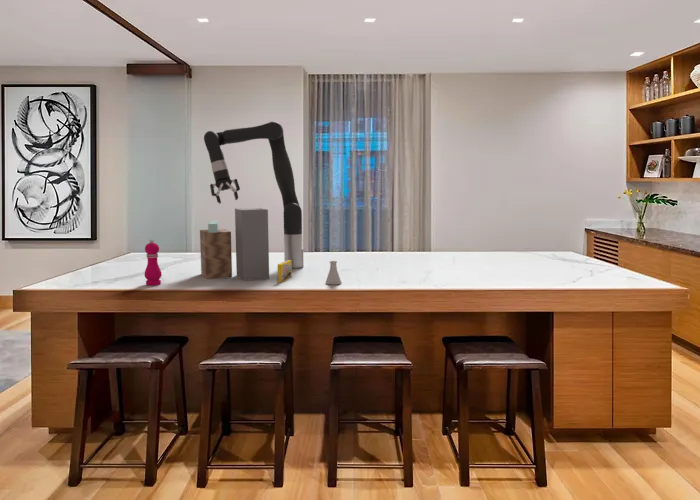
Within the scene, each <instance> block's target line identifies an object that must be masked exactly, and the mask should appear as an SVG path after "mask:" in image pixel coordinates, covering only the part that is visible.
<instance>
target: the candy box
mask: <svg viewBox="0 0 700 500" xmlns="http://www.w3.org/2000/svg"><path fill="white" fill-rule="evenodd" d="M291 265H292V261H291V260H287V261H283V262H281V263H278V264H277V272H276V273H277V283H279V284H280V283H283V282H286V281H287V280H289V279H290V278H292V268H291Z"/></svg>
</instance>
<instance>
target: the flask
mask: <svg viewBox="0 0 700 500" xmlns="http://www.w3.org/2000/svg"><path fill="white" fill-rule="evenodd" d="M337 263H338V261H337V260H330V261H329V265H330V267H329V272H328V273H327V277H326V280H325V285H329V286H330V285H332V286H334V285H341V284H342V280H341V277H340V275H339V272H338V267H337Z"/></svg>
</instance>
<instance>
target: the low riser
mask: <svg viewBox="0 0 700 500" xmlns="http://www.w3.org/2000/svg"><path fill="white" fill-rule="evenodd" d="M199 241H200V242H199V244H200V245H199V247H200V273H201V275H202V276H203V278H205V279H206V280H212V279H226V277H229V278H233V265H232V264H233V263H232V262H233V261H232V258H233V257H232V232H231V231H230V230H229V229H226V228H225V229H223V228H221V229H220V228H218V232H214V233H208V229H199Z"/></svg>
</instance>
